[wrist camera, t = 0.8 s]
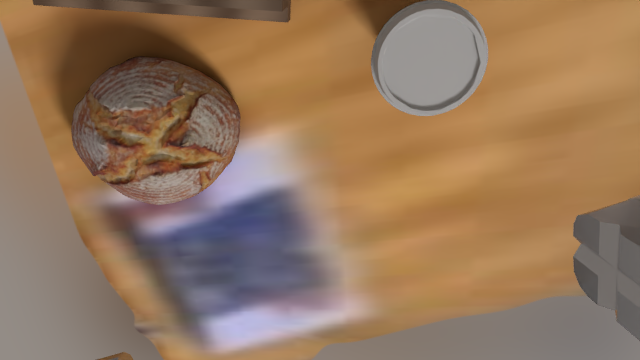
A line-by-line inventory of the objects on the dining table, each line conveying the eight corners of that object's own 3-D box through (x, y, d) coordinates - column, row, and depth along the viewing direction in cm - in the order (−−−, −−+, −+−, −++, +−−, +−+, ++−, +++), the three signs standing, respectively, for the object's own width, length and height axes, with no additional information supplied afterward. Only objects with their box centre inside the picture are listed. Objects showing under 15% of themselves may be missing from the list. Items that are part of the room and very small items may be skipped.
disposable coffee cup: (446, 90, 51) (470, 129, 40) (360, 74, 51) (360, 109, 40) (474, -2, 47) (509, 14, 36) (379, -20, 47) (386, -9, 36)
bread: (270, 149, 57) (257, 193, 48) (137, 204, 62) (103, 252, 53) (198, 21, 50) (168, 45, 41) (54, 94, 54) (-1, 129, 46)
